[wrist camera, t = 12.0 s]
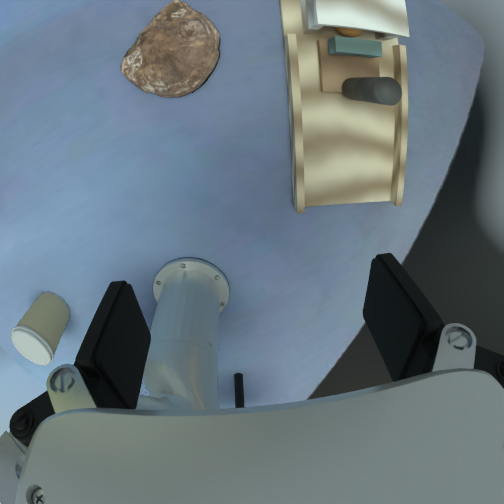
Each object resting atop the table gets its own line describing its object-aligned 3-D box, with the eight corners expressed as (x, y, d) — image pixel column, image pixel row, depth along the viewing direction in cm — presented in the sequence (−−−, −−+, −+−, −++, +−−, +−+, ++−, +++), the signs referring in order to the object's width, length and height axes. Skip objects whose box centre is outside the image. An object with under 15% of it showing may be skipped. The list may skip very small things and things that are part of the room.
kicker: (377, 101, 33) (421, 109, 24) (321, 98, 33) (352, 103, 24) (374, 45, 29) (418, 37, 20) (316, 40, 29) (347, 24, 20)
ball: (355, 28, 29) (366, 44, 28) (327, 25, 28) (336, 41, 27) (362, 6, 25) (374, 21, 24) (332, 2, 25) (342, 16, 24)
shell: (243, 43, 30) (244, 39, 27) (177, 115, 35) (171, 117, 31) (176, -3, 26) (171, -11, 23) (113, 68, 30) (103, 67, 27)
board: (392, 198, 42) (417, 219, 35) (293, 204, 42) (305, 229, 35) (390, 8, 26) (419, -3, 20) (278, -5, 26) (289, -25, 20)
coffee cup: (29, 294, 47) (2, 334, 37) (54, 282, 46) (26, 326, 36) (54, 327, 52) (33, 368, 41) (81, 318, 51) (61, 364, 40)
